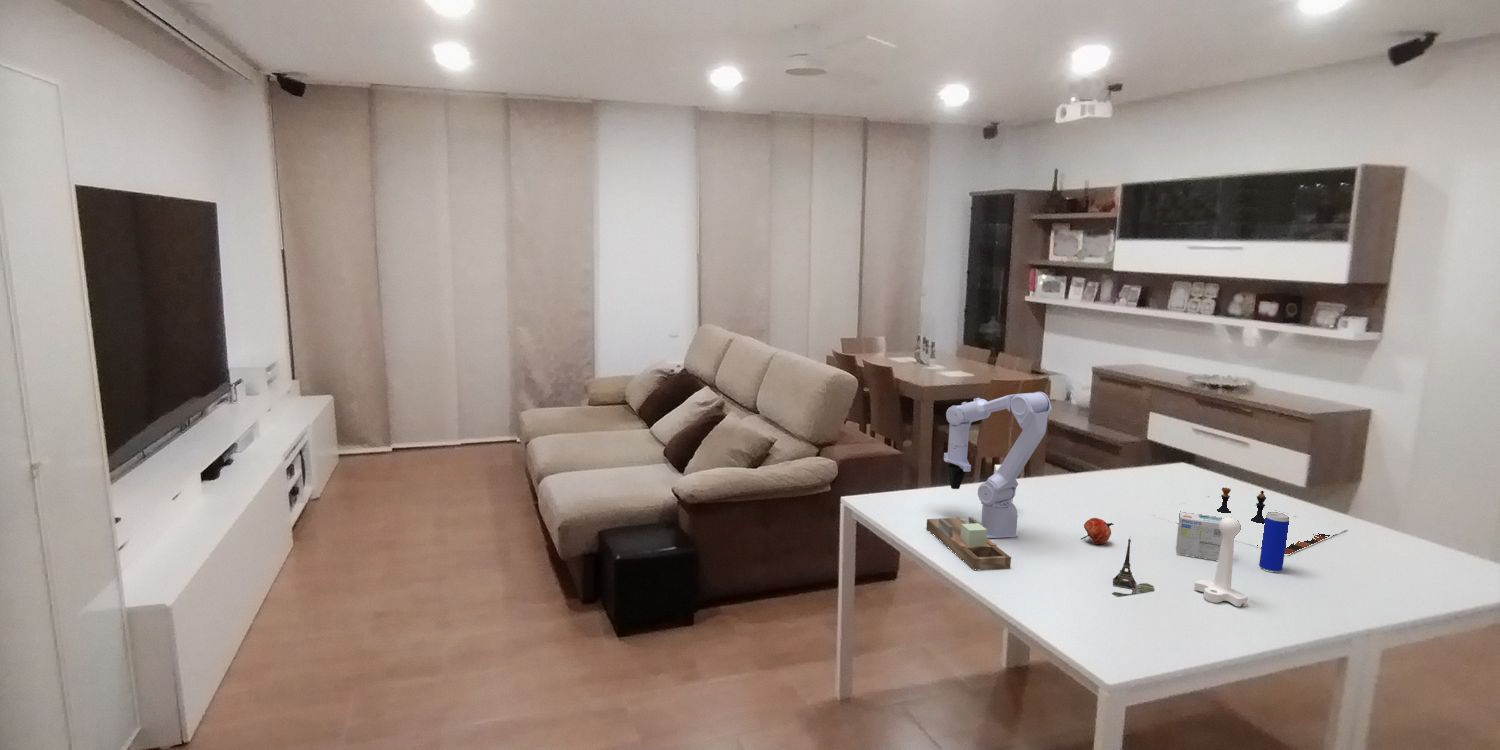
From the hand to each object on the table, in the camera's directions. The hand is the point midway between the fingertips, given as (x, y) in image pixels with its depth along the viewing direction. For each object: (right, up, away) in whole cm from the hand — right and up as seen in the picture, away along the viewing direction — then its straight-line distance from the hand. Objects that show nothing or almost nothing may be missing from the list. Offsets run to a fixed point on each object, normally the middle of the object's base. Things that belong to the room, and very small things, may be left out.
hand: (955, 488), depth 245 cm
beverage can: (+75, -17, -32) cm, 83 cm away
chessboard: (+91, -12, +5) cm, 92 cm away
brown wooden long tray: (-3, -13, -22) cm, 26 cm away
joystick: (+50, -19, -51) cm, 74 cm away
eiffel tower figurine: (+31, -18, -44) cm, 57 cm away
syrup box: (+17, -9, +9) cm, 21 cm away
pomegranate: (+36, -13, -16) cm, 41 cm away
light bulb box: (+61, -15, -23) cm, 66 cm away
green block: (-2, -11, -27) cm, 29 cm away
